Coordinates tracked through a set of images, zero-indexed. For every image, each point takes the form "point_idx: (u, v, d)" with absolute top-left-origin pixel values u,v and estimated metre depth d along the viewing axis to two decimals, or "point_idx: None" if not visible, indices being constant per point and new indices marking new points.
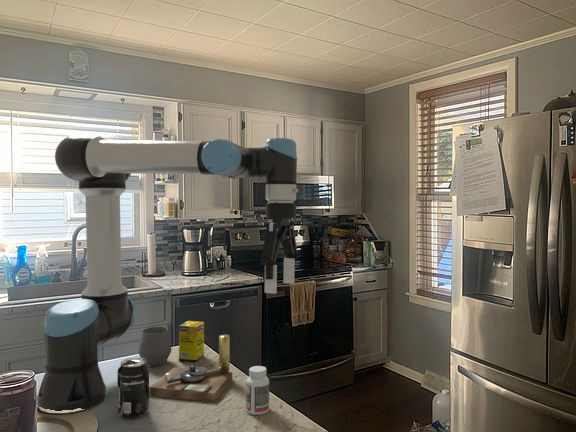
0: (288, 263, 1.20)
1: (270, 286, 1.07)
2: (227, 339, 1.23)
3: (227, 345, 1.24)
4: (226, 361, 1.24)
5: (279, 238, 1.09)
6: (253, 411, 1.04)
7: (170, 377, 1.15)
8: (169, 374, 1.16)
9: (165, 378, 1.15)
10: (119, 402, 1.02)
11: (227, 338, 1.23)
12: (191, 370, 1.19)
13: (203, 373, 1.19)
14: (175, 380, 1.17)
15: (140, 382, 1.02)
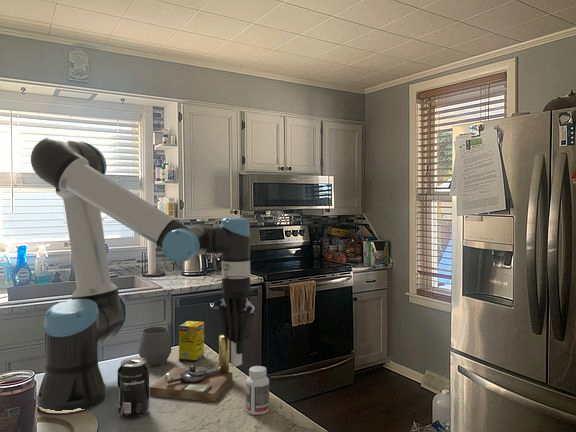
0: None
1: None
2: (227, 339, 1.24)
3: (227, 345, 1.24)
4: (226, 361, 1.24)
5: None
6: (253, 411, 1.04)
7: (170, 377, 1.15)
8: (169, 374, 1.16)
9: (165, 378, 1.15)
10: (119, 402, 1.02)
11: (227, 338, 1.24)
12: (191, 370, 1.19)
13: (203, 373, 1.19)
14: (175, 380, 1.17)
15: (140, 382, 1.02)
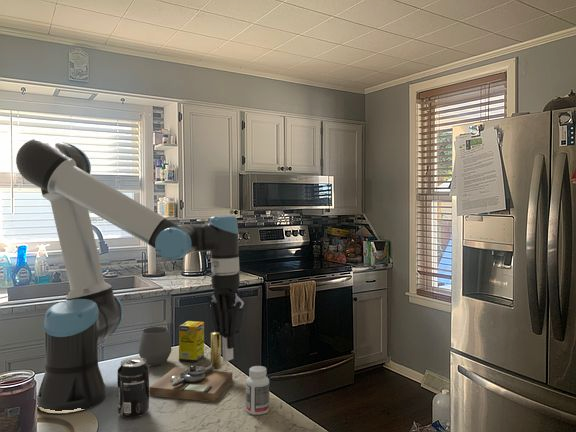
0: None
1: None
2: None
3: (220, 341, 1.27)
4: (219, 357, 1.27)
5: None
6: (253, 411, 1.04)
7: (177, 379, 1.14)
8: (176, 377, 1.14)
9: (172, 381, 1.13)
10: (119, 402, 1.02)
11: None
12: (192, 370, 1.19)
13: (204, 371, 1.20)
14: (180, 382, 1.15)
15: (140, 382, 1.02)
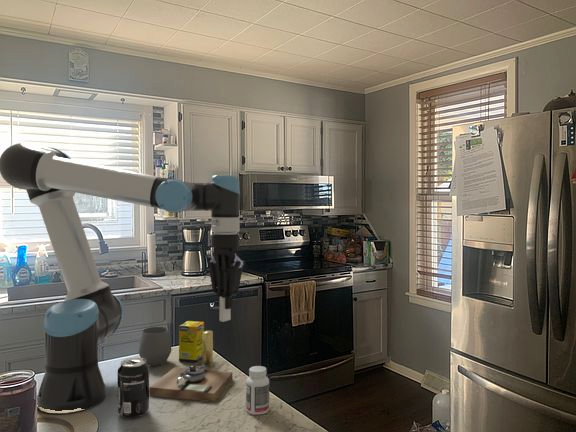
0: None
1: None
2: (212, 334, 1.28)
3: (212, 340, 1.28)
4: (212, 355, 1.28)
5: None
6: (253, 411, 1.04)
7: (184, 380, 1.13)
8: (182, 378, 1.13)
9: (180, 383, 1.12)
10: (119, 402, 1.02)
11: (212, 333, 1.28)
12: (193, 370, 1.19)
13: (204, 370, 1.21)
14: (185, 383, 1.15)
15: (140, 382, 1.02)
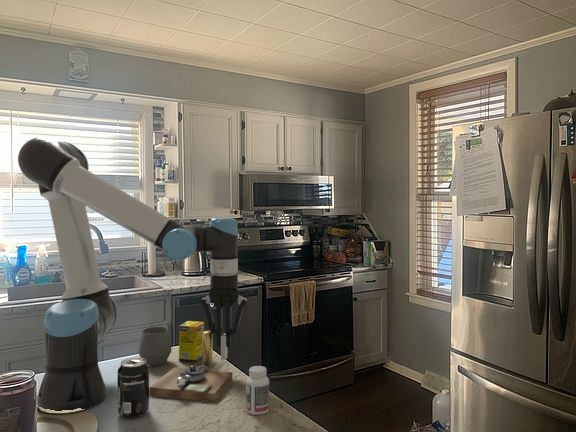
0: None
1: None
2: (212, 334, 1.28)
3: (212, 340, 1.28)
4: (212, 355, 1.28)
5: None
6: (253, 411, 1.04)
7: (184, 380, 1.13)
8: (182, 378, 1.13)
9: (180, 383, 1.12)
10: (119, 402, 1.02)
11: (212, 333, 1.28)
12: (193, 370, 1.19)
13: (203, 370, 1.21)
14: (185, 383, 1.15)
15: (140, 382, 1.02)
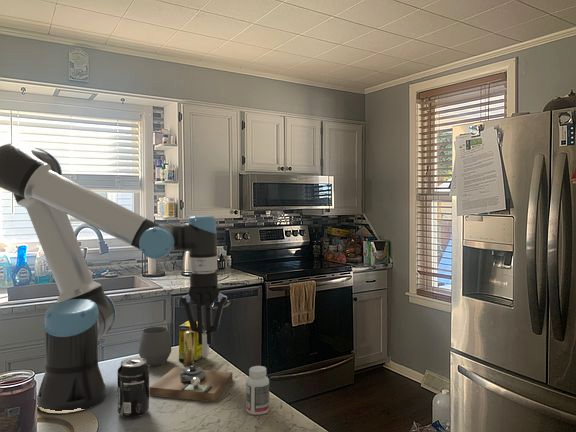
0: None
1: None
2: None
3: None
4: None
5: None
6: (253, 411, 1.04)
7: None
8: (197, 377, 1.14)
9: (198, 382, 1.13)
10: (119, 402, 1.02)
11: None
12: (195, 369, 1.19)
13: None
14: None
15: (140, 382, 1.02)
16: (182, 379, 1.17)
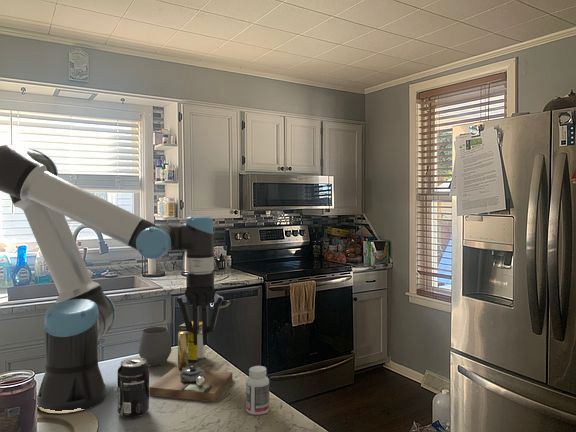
0: None
1: None
2: None
3: None
4: None
5: None
6: (253, 411, 1.04)
7: None
8: (202, 376, 1.14)
9: (203, 381, 1.13)
10: (119, 402, 1.02)
11: None
12: (195, 369, 1.19)
13: None
14: None
15: (140, 382, 1.02)
16: (184, 380, 1.17)
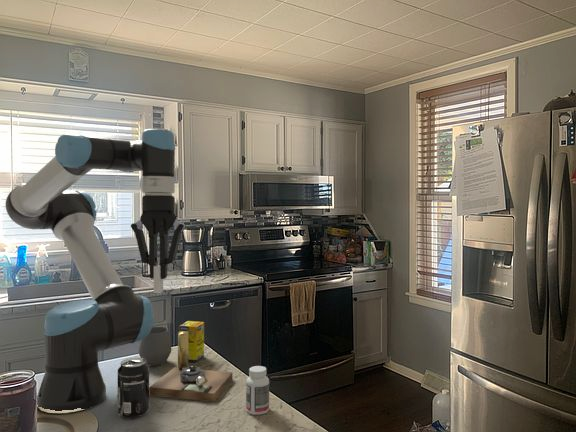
0: None
1: None
2: None
3: None
4: None
5: None
6: (253, 411, 1.04)
7: None
8: (202, 376, 1.14)
9: (203, 381, 1.13)
10: (119, 402, 1.02)
11: None
12: (195, 369, 1.19)
13: None
14: None
15: (140, 382, 1.02)
16: (184, 380, 1.17)
